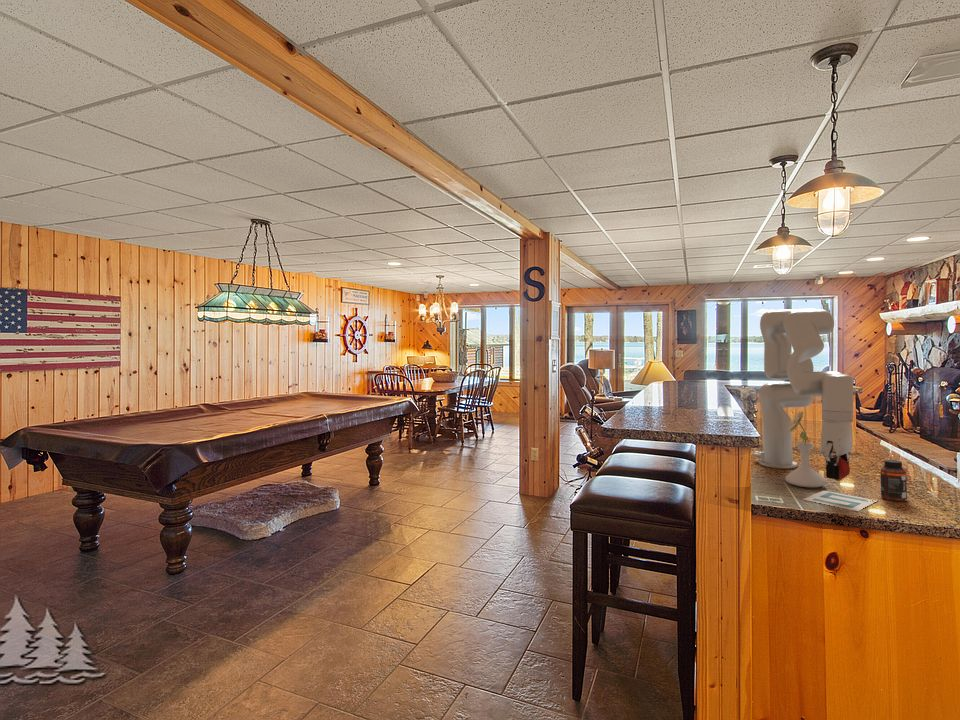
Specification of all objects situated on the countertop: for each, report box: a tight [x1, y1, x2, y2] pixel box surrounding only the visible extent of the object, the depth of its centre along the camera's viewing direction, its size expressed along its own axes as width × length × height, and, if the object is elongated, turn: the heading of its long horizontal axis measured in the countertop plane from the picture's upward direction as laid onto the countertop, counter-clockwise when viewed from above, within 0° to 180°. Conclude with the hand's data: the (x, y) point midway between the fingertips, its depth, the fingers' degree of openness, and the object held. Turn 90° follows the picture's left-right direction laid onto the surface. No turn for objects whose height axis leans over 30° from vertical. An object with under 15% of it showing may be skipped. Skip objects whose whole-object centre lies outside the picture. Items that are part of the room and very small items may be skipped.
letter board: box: [802, 490, 878, 512], centre depth 147 cm, size 14×14×1 cm
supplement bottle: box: [879, 459, 908, 502], centre depth 147 cm, size 6×6×11 cm
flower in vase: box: [784, 410, 828, 488], centre depth 163 cm, size 13×11×25 cm
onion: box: [832, 456, 851, 482], centre depth 148 cm, size 6×6×8 cm
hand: (837, 475), depth 148 cm, fingers closed on onion, 5 cm apart
